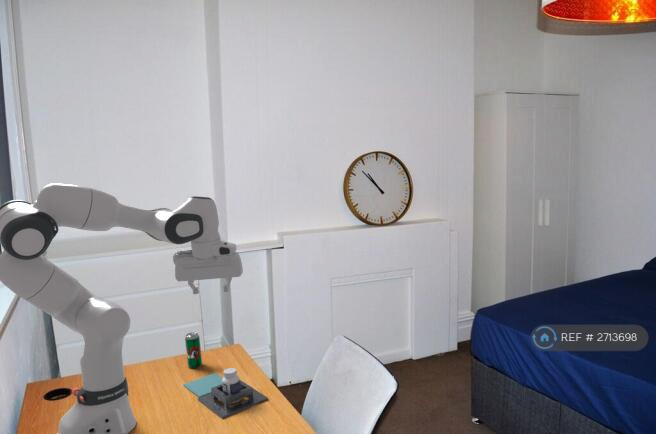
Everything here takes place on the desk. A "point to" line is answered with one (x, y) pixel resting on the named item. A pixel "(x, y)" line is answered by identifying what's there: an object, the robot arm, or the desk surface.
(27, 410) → the desk surface
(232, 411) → the square frame
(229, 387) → the pill bottle
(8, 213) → the robot arm
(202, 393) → the mat
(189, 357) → the soda can
